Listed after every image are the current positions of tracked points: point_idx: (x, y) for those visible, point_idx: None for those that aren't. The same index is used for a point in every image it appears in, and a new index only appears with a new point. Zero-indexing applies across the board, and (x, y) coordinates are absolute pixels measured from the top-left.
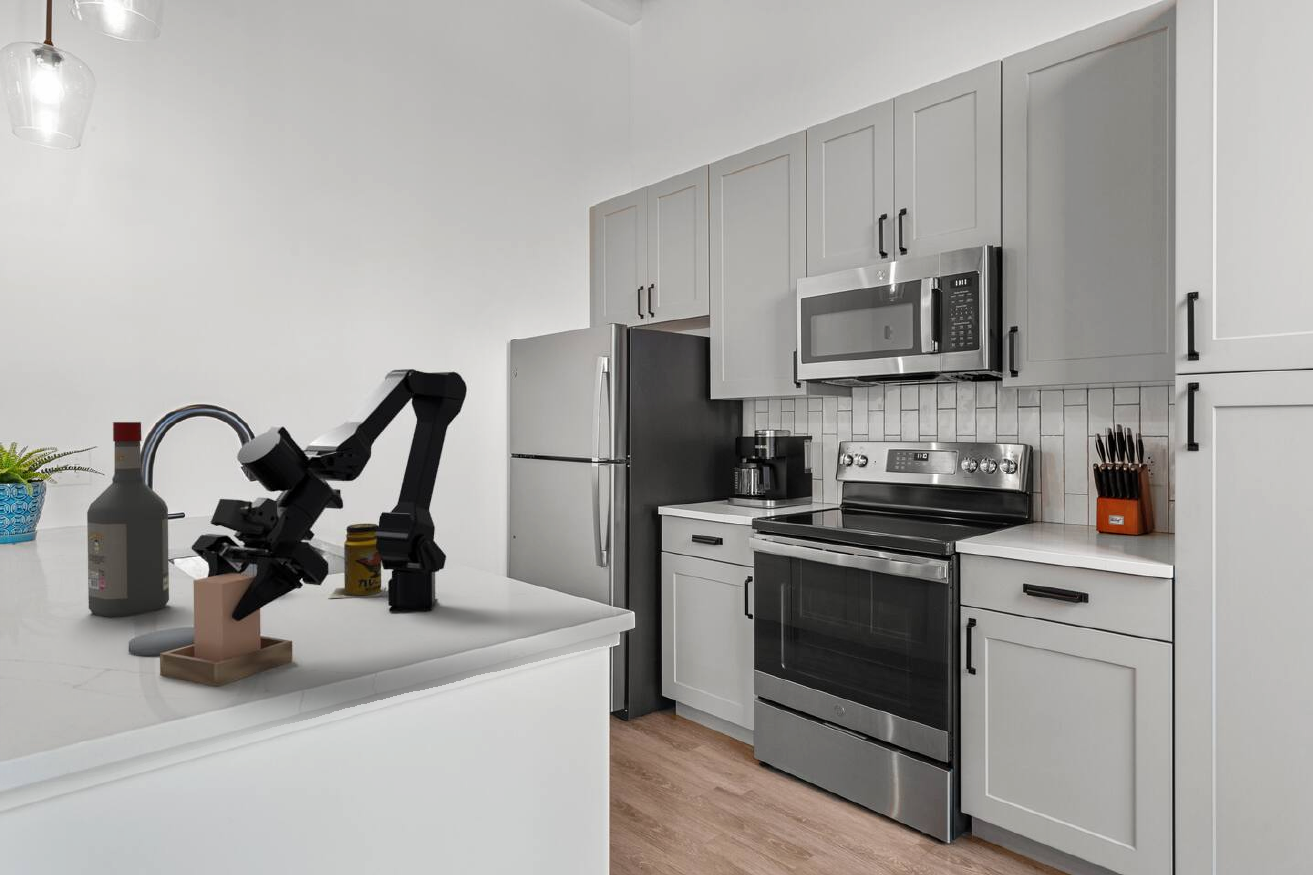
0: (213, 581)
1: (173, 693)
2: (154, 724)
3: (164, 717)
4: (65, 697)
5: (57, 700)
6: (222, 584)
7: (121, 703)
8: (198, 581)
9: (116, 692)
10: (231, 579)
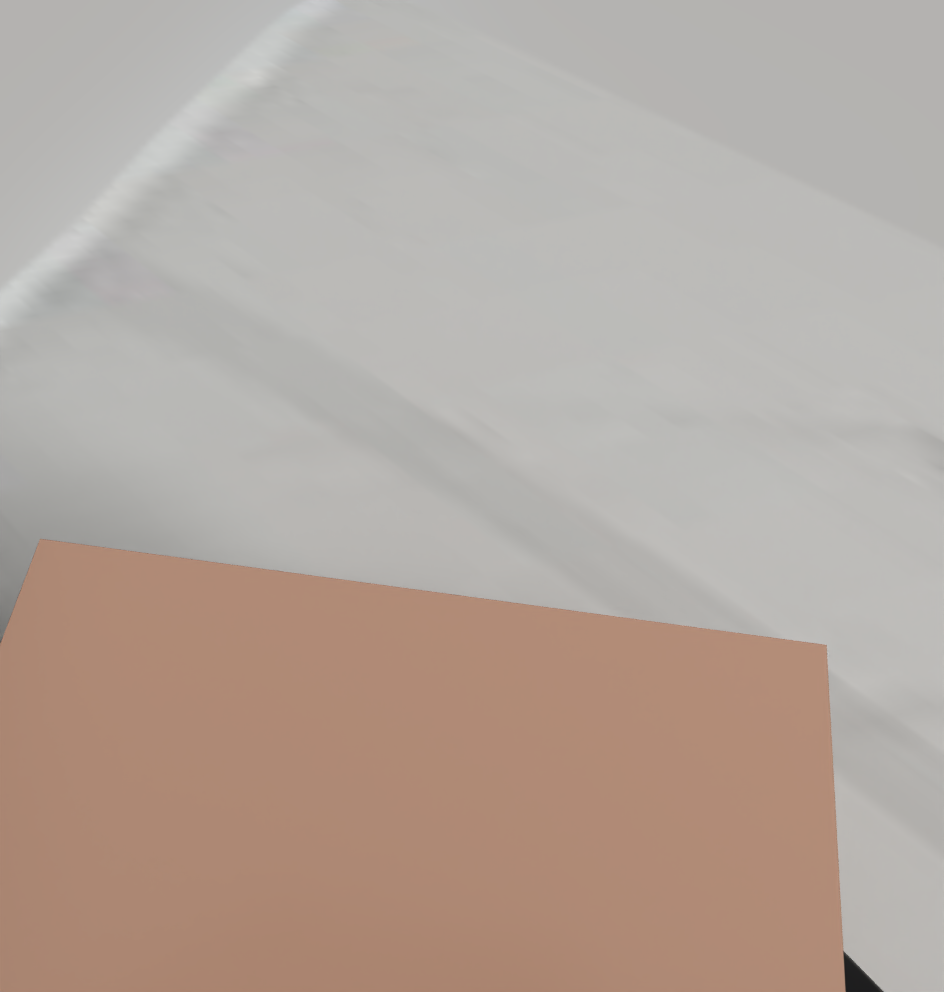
0: (355, 652)
1: (351, 494)
2: (120, 219)
3: (137, 274)
4: (809, 338)
5: (799, 307)
6: (45, 553)
7: (480, 343)
8: (682, 631)
9: (653, 437)
10: (120, 922)
